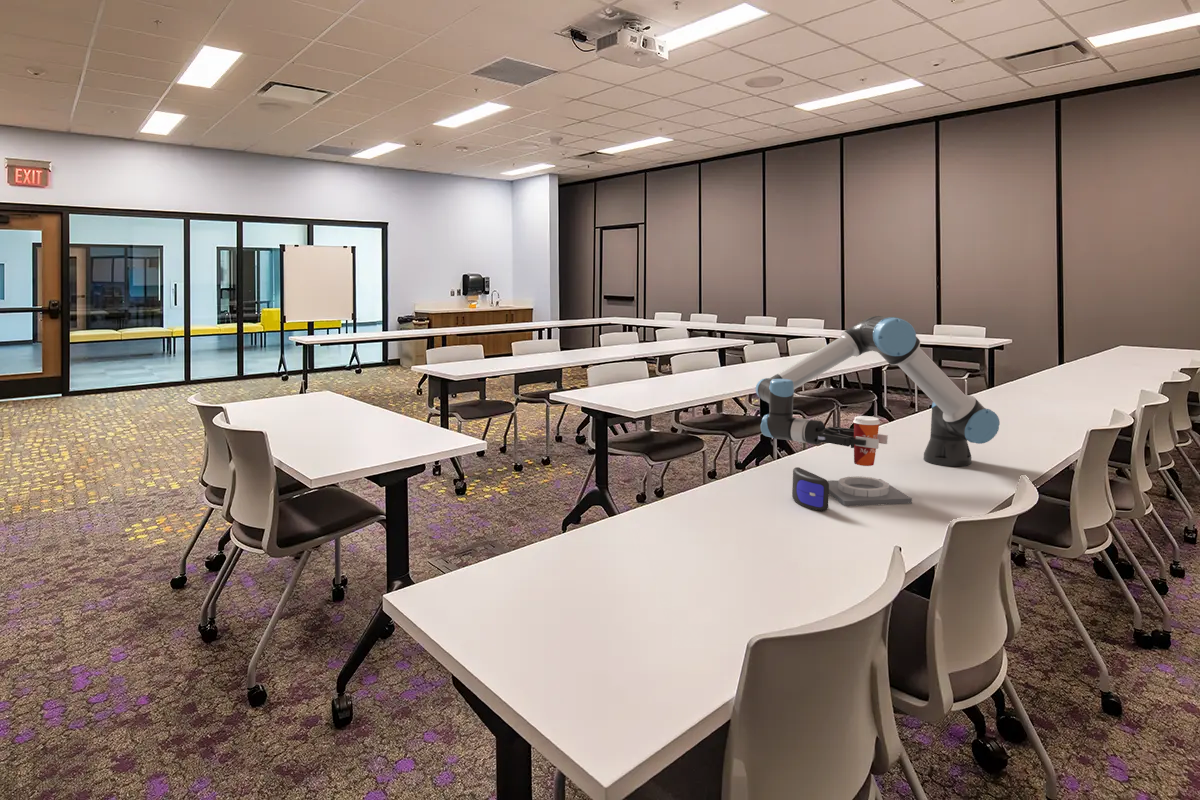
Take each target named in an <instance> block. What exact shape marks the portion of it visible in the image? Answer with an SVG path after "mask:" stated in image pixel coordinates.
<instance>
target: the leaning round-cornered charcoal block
mask: <svg viewBox="0 0 1200 800" xmlns="http://www.w3.org/2000/svg"><path fill="white" fill-rule="evenodd" d="M828 481H829V480H827V479H826V478H823V476H820V475H816V474H815V473H812V472H810V471H808V470H806V469H803V468H801V467H794V468H793V469H792V492H791V493H792V495H791V496H792V499H793V501H794V502H796V503H797V504H798V505H800V506H802V507H804V508H807V509H810V510H814V511H817V512H826V511H827V510H828V509H829V498H830V497H829V495H830V494H829V483H828Z"/></svg>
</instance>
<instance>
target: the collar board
mask: <svg viewBox="0 0 1200 800" xmlns="http://www.w3.org/2000/svg"><path fill="white" fill-rule="evenodd" d="M827 481H828V483H829V495H830V496H831V497H832V498H833V499H835V500H836V501H837V502H839V503H840V504H841V505H842V506H843V507H853V506H856V505H858V506H879V505H878V504H880V505H881V504H884V505H905V504H904V503H910V504H912V503H913V498H912V497H911V496H909V495H907V494H905V493H904V492H902V491H901V490H899V489H897V488H896V487H894V486H893V485H891V484H890V483H888V482H886V481H885V480H883V479H881V478H876V477H870V476H863V475H862V476H844V477H842V478H839V479H838V480H827Z"/></svg>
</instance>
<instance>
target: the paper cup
mask: <svg viewBox="0 0 1200 800" xmlns="http://www.w3.org/2000/svg"><path fill="white" fill-rule="evenodd" d="M852 423H853V429H854V437H855V439H856V436H858V437H866V438H873V439H877V437H878V434H879V428H880V424H881V422H880V419H879V418H878V417H876V416H868V415H858V416H854V420H853V421H852ZM876 452H877V449H875V448H868V447H861V446H855V444H854V448H853V462H854V464H855V465H857V466H861V467H862V466H863V467H871V466H872V467H873V466H874V465H875V458H876V454H877V453H876Z"/></svg>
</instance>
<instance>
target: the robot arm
mask: <svg viewBox="0 0 1200 800" xmlns="http://www.w3.org/2000/svg"><path fill="white" fill-rule="evenodd" d="M920 346H921V340H920V339H919V338H918V337H917V333H916V330H915V328H914V326H913V325H912V324H911V323H910V322H909V321H907V320H905V319H902V318H900V317H896V316H895V317H893V316H890V317H889V316H881V315H874V316H870V317H868V318H865V319H863V320H861V321H859V322H858V323H856V324H854V325H853V326H851V327H849V328H847V329H846V330H844V331H843V332H841V335H840V337H838V338H836V339H835V340H833V341H831V342H830V343H828V344H826V345H824V346H823V347H821V348H819V349H817V350H816V351H815V352H812V353H811V354H809V355H807V356H806V357H804V358H802V359H800V360H799V361H797V362H796V363H793V364H792V365H790V366H788V367H787V368H785V369H783V370H782V371H779V372H778V373H777V374H774V375H773V376H772V377H768V378H767V377H766V378H762V379H760V380H759V381H758V382H757V383H756V386H755V393H756V395H757V396H758V397H759V399H761V400H762V401H763V402H766V403H767V404H768V407H769V412H768V413H767V414H764V415H763V417H762V419H761V423H760V431H761V434H762V435H763V436H765V437H768V438H773V439H775V440H786V441H792V442H798V444H799V445H800V444H802V443H803V444H805V443H806V444H809V445H817V446H819V445H820V444H822V443H826V444H832V445H837V446H843V447H850V449H854V444H855V446H861V447H868V448H875V449H876V450H877V449H879V444H881V445H887V444H888V438H889V435H888V434H883V433H878V437H877V439H873V438H866V437H858V436H856V439H855V437H854V428H847V427H839V426H835V427H834V426H828V427H827V428H826V427H825V423H824V422H823V421H822V420H815V419H809V418H802V417H794V413H793V412H794V396H795V390H796V389H798V388H799V387H801V386H803V385H805V384H806V383H808V382H810V381H812V380H813V379H815V378H817V377H818V376H820V375H822V374H823V373H825V372H827V371H829V370H830V369H832V368H834V367H836V366H838V365H840V363H842V362H845V361H846V360H848V359H849V358H852V357H856V358H857V357H859V356H861V355H863V354H865V353H869V352H875V353H878V354H879V355H880V356H881V357H882V358H883V359H884V360H885V361H886V362H887V363H888V364H889V365H890V366H898V367H899V368H900V369H901V370H902V372H904V374H905V375H907V376H908V378H909V379H910V380H912V382H913V383H914V384H915V385H916V386H917V387H918V388H919V389H920V390H921V391H922V392H923V393H924V394H925V395H926V396H927V397H928V398H929V399H930V400H931V401H932V404H931V418H930V419H931V421H930V422H931V423H930V438H929V440H928V442H927V445H926V446H925V449H924V452H923V460H924V461H925V462H927V463H930V464H934V465H936V466H937V465H938V466H946V467H964V466H970V465H971V464H972V458H973V457H972V454H971V450H970V447H969V443H968V442H970V443H973V444H974V443H975V444H977V445H978V444H979V445H980V444H981V445H982V444H985V443H989V442H990V441H992V439H994V437H996V436H997V434H998V432H999V427H1000V418H999V415H998V413H996V412H995V411H993V410H992V409H989V408H986V407H984V406H983V405H982V404H981V403H980V402H979V400H977V399H976V397H975V396H974V395H970V394H969V395H968V394H967V395H966V394H965V393H964V392H963V391H962V390H961V389H960V388H959V387H958V385H956V383H955V382H954V381H952V380H951V379H950V378H949V377H948V375H947V374H946V373H945V372H944V371H943V370H942V369H941V368H940V367H939V365H937V364H936V363H935V361H933V360H932V359H931V358H930V357H929V356H928V355H927V353H925V351H924V350H923V349H922V348H921V347H920Z"/></svg>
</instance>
